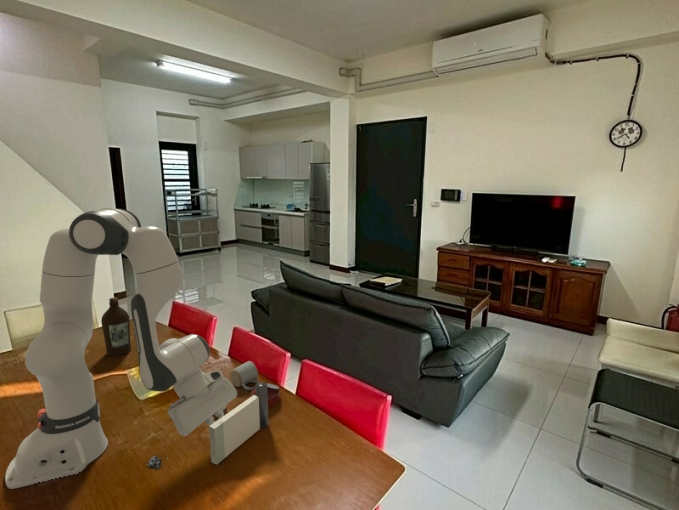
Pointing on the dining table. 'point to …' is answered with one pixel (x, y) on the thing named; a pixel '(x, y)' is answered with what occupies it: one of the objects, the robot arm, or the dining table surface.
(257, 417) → the cream flat block
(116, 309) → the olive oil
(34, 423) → the dining table surface
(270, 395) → the canned food
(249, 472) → the dining table surface
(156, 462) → the blueberries
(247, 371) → the ceramic mug
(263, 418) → the hinge post
